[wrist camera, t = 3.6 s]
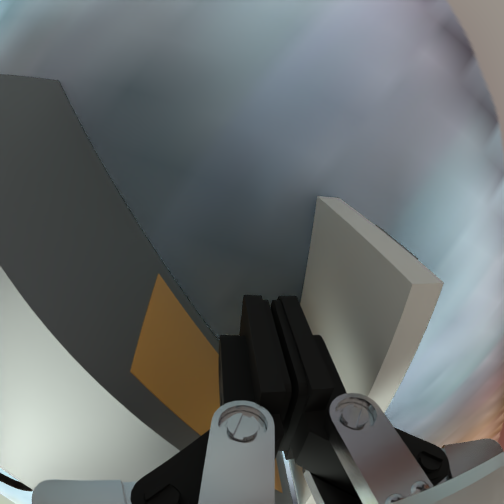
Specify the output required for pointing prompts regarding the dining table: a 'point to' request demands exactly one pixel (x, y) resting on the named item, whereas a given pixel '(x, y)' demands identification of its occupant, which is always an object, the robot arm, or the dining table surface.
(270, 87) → the dining table surface
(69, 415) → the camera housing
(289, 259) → the dining table surface
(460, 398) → the dining table surface
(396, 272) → the side door
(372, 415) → the robot arm
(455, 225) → the dining table surface
